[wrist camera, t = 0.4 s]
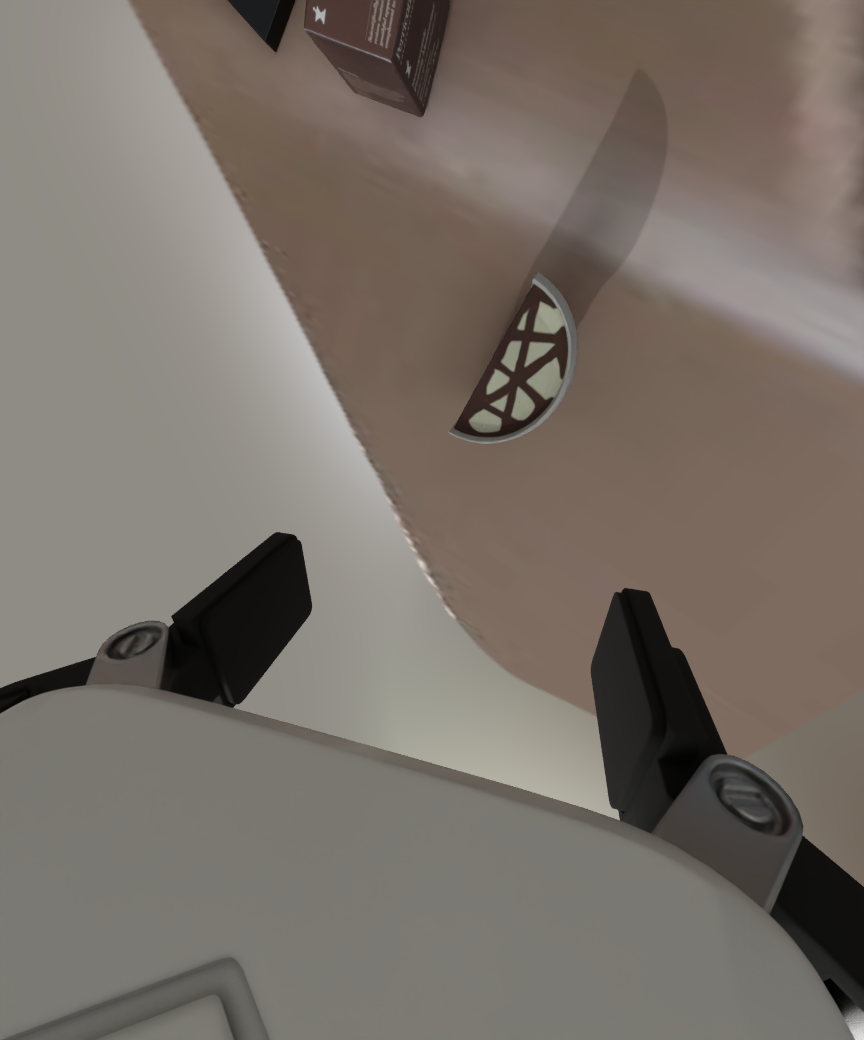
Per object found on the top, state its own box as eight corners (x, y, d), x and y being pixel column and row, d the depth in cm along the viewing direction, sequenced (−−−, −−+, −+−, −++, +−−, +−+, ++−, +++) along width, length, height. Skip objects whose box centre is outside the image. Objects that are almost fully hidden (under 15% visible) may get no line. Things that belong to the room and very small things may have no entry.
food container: (518, 443, 38) (512, 478, 29) (466, 411, 38) (445, 438, 29) (601, 321, 32) (623, 321, 23) (539, 282, 31) (538, 268, 23)
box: (423, 122, 29) (391, 66, 22) (352, 94, 29) (300, 31, 23) (451, 2, 25) (423, -103, 19) (371, -29, 26) (317, -141, 19)
